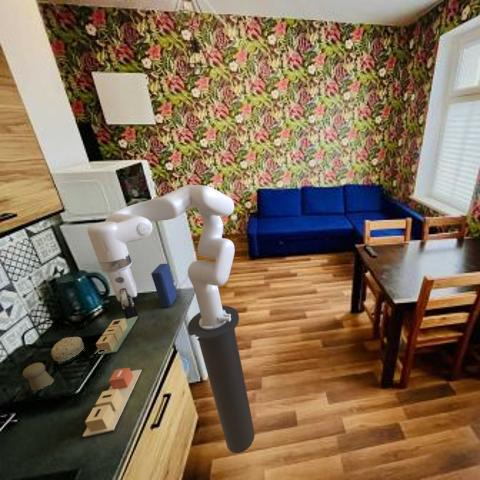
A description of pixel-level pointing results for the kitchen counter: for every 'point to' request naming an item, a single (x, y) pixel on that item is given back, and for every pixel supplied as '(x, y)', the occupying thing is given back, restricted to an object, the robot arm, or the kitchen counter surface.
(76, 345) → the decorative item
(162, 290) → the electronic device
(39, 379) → the cork
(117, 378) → the letter block
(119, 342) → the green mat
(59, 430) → the kitchen counter surface
